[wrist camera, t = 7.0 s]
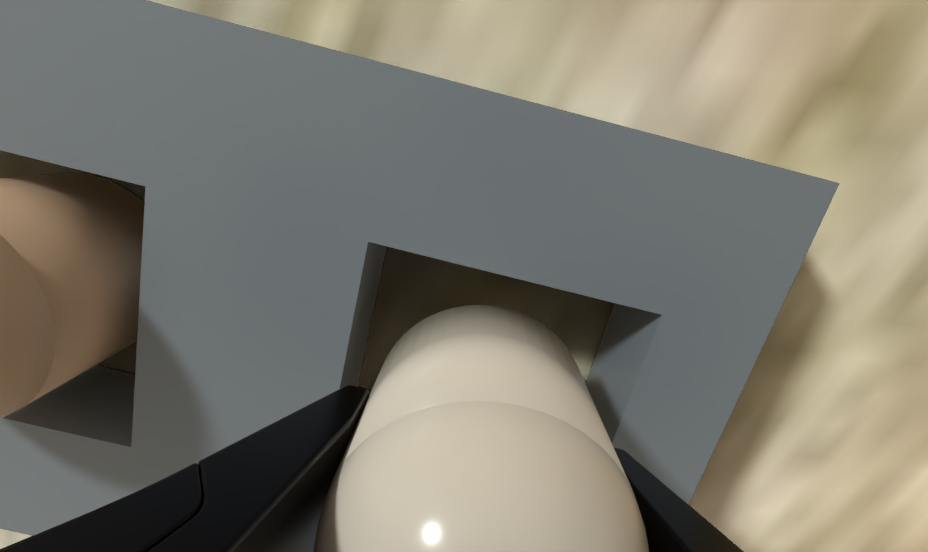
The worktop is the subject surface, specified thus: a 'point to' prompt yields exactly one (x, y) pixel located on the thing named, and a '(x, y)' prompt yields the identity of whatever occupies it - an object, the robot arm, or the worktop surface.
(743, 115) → the worktop surface
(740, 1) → the worktop surface
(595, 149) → the egg carton
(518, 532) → the egg
